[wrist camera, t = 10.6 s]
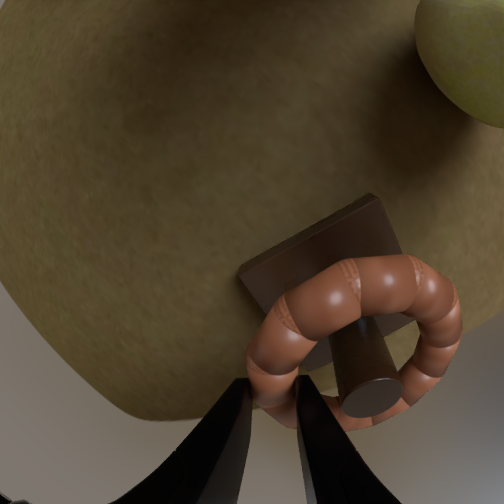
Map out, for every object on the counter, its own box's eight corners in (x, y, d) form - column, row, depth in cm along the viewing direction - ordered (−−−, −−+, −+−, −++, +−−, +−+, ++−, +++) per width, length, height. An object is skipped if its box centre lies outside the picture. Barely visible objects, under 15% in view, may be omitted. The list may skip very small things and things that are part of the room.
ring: (310, 427, 11) (313, 455, 9) (201, 327, 9) (191, 362, 7) (456, 350, 9) (472, 373, 8) (416, 199, 7) (447, 214, 5)
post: (307, 357, 15) (313, 466, 9) (240, 264, 13) (205, 374, 7) (414, 304, 13) (472, 397, 7) (370, 192, 12) (459, 250, 5)
